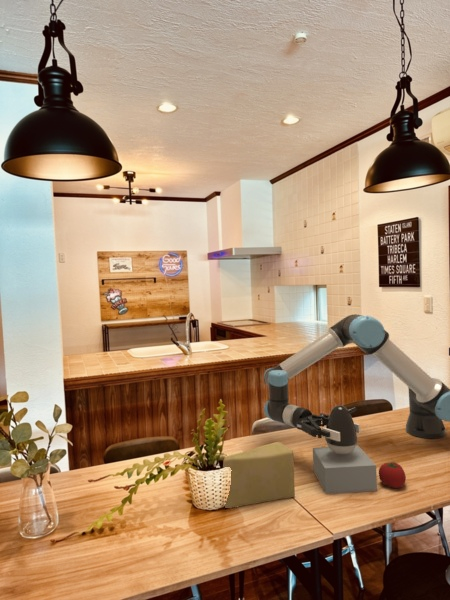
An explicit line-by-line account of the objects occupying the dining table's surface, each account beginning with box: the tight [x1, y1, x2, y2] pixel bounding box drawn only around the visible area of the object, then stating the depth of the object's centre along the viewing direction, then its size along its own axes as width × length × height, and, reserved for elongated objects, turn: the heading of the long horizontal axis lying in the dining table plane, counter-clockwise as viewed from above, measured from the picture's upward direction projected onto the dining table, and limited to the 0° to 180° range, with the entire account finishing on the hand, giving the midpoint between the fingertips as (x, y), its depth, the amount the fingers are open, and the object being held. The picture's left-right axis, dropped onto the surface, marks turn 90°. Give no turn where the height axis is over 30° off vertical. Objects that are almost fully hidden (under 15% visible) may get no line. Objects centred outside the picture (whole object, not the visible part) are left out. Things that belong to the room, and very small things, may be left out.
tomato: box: [378, 461, 407, 489], centre depth 125 cm, size 8×8×7 cm
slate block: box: [312, 444, 378, 495], centre depth 130 cm, size 16×16×8 cm
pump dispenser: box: [324, 404, 358, 454], centre depth 130 cm, size 10×10×15 cm
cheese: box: [222, 441, 296, 509], centre depth 120 cm, size 22×10×15 cm, turn 112°
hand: (349, 432), depth 127 cm, fingers closed on pump dispenser, 10 cm apart
